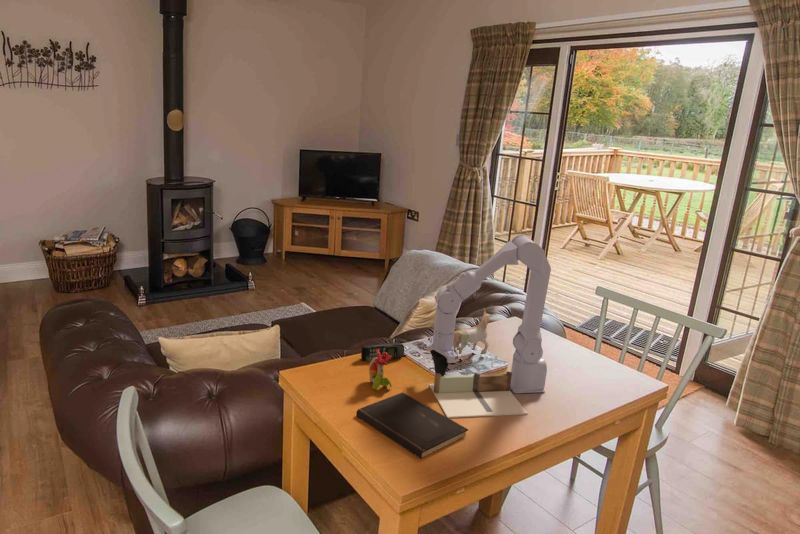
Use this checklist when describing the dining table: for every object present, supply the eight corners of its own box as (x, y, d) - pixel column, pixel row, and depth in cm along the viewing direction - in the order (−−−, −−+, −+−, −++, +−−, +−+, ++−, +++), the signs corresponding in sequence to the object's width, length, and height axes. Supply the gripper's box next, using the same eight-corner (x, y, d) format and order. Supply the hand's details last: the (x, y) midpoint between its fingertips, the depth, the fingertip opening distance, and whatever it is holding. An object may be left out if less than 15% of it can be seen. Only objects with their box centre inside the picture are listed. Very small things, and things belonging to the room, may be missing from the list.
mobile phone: (363, 348, 175) (409, 343, 180) (360, 344, 178) (406, 339, 183) (362, 363, 177) (408, 358, 182) (359, 359, 179) (405, 354, 184)
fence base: (508, 388, 166) (510, 371, 164) (510, 390, 164) (512, 374, 163) (471, 389, 163) (473, 372, 162) (473, 392, 162) (475, 375, 160)
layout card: (501, 382, 170) (501, 381, 170) (527, 414, 153) (527, 412, 153) (429, 385, 165) (429, 383, 165) (447, 418, 148) (447, 416, 148)
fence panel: (470, 388, 163) (472, 372, 162) (472, 391, 162) (474, 374, 160) (432, 390, 161) (434, 373, 159) (434, 393, 159) (436, 375, 158)
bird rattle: (362, 390, 163) (376, 392, 155) (357, 351, 164) (371, 350, 156) (381, 387, 166) (397, 388, 159) (376, 348, 167) (391, 347, 160)
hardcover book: (402, 399, 157) (402, 392, 156) (467, 437, 141) (468, 429, 140) (355, 417, 146) (356, 409, 145) (420, 461, 130) (421, 452, 129)
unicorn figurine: (497, 351, 192) (502, 313, 188) (463, 368, 178) (467, 327, 174) (479, 344, 196) (484, 307, 193) (444, 360, 182) (448, 320, 179)
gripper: (422, 322, 167) (418, 365, 171) (439, 341, 154) (435, 388, 158) (445, 321, 169) (440, 364, 173) (464, 340, 156) (459, 386, 160)
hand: (439, 375), depth 165 cm, fingers closed
